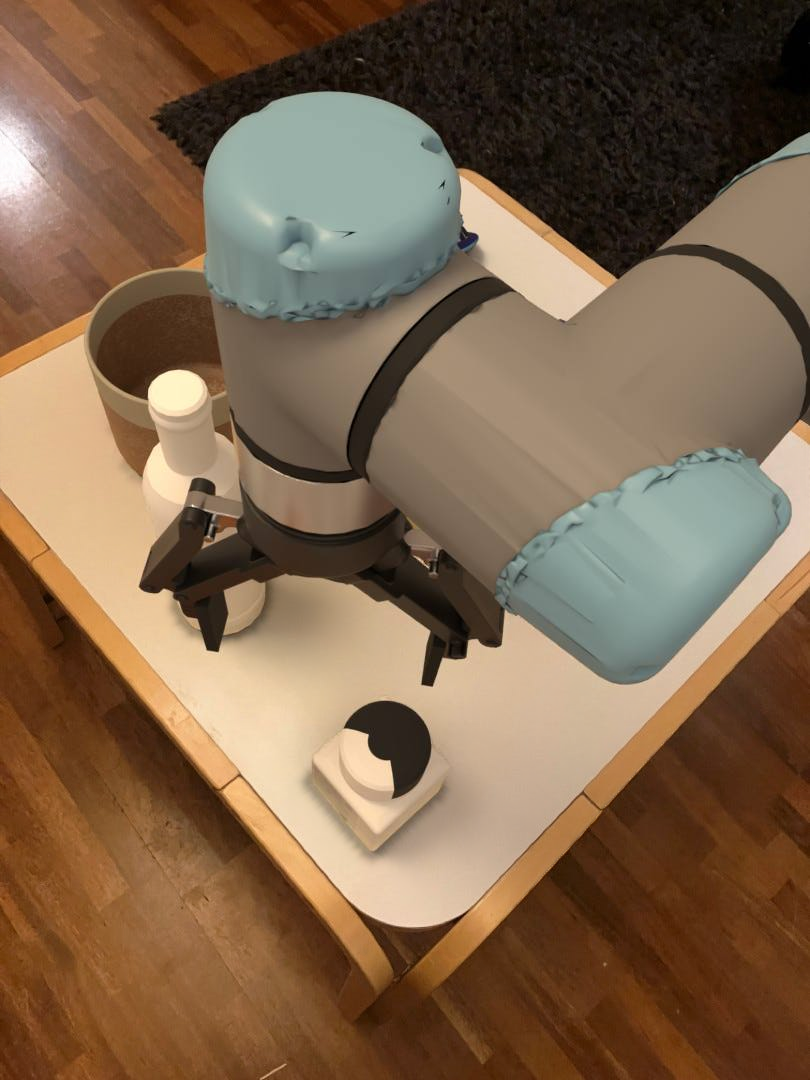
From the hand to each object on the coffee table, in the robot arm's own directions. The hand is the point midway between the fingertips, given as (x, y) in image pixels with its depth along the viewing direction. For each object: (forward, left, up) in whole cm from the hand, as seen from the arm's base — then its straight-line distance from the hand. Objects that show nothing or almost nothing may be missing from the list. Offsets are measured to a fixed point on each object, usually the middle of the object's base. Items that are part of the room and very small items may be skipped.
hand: (323, 649), depth 56 cm
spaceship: (+14, -58, -22) cm, 64 cm away
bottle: (+14, -8, -22) cm, 27 cm away
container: (-6, +1, -22) cm, 22 cm away
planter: (+26, -23, -22) cm, 41 cm away
